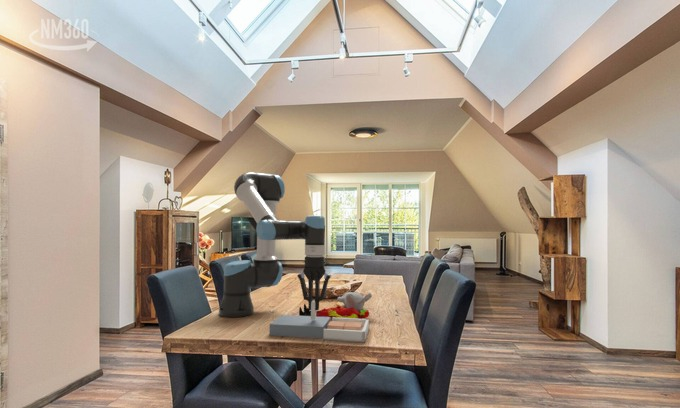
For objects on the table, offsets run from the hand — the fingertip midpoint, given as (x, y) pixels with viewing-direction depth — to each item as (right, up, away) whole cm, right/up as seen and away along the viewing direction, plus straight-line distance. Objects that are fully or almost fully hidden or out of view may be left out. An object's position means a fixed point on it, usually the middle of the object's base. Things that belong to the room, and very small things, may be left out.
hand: (313, 318), depth 136 cm
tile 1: (+9, -4, -2) cm, 10 cm away
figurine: (+8, -7, +20) cm, 22 cm away
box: (+13, -5, -3) cm, 14 cm away
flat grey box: (-5, -5, 0) cm, 7 cm away
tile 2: (+15, -1, -3) cm, 15 cm away
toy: (+16, -7, +32) cm, 37 cm away
